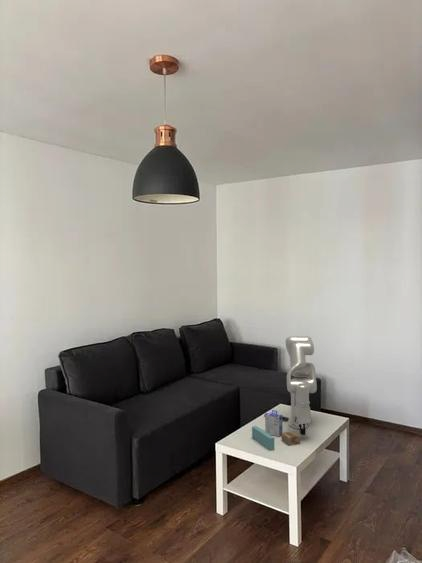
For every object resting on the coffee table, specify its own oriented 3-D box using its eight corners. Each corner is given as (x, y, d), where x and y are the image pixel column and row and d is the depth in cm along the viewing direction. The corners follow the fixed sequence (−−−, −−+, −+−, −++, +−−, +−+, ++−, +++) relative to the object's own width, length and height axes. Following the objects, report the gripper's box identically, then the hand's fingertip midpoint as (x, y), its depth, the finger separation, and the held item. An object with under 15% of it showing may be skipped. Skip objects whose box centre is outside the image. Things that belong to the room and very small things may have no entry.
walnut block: (293, 438, 259) (293, 430, 259) (300, 444, 252) (300, 435, 252) (281, 441, 257) (281, 432, 256) (288, 446, 249) (288, 437, 249)
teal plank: (256, 436, 263) (256, 425, 262) (274, 449, 244) (274, 437, 244) (252, 437, 261) (252, 426, 261) (270, 450, 243) (270, 438, 243)
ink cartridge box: (283, 433, 267) (282, 411, 266) (279, 437, 262) (279, 414, 261) (268, 430, 272) (268, 408, 271) (265, 433, 267) (264, 411, 267)
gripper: (308, 401, 264) (308, 430, 265) (288, 404, 257) (289, 434, 258) (316, 404, 257) (316, 434, 258) (296, 408, 251) (296, 438, 251)
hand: (302, 434), depth 258 cm, fingers closed
